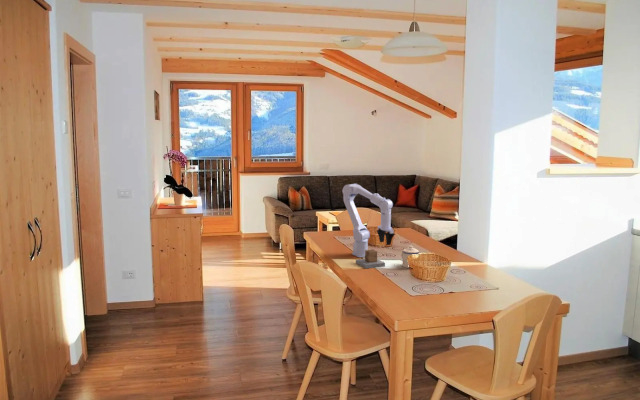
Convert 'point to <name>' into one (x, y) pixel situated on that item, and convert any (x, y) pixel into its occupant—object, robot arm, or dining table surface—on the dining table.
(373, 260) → the walnut block
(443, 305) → the dining table surface
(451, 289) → the dining table surface
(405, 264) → the teacup with lid
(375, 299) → the dining table surface
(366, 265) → the slate trivet
